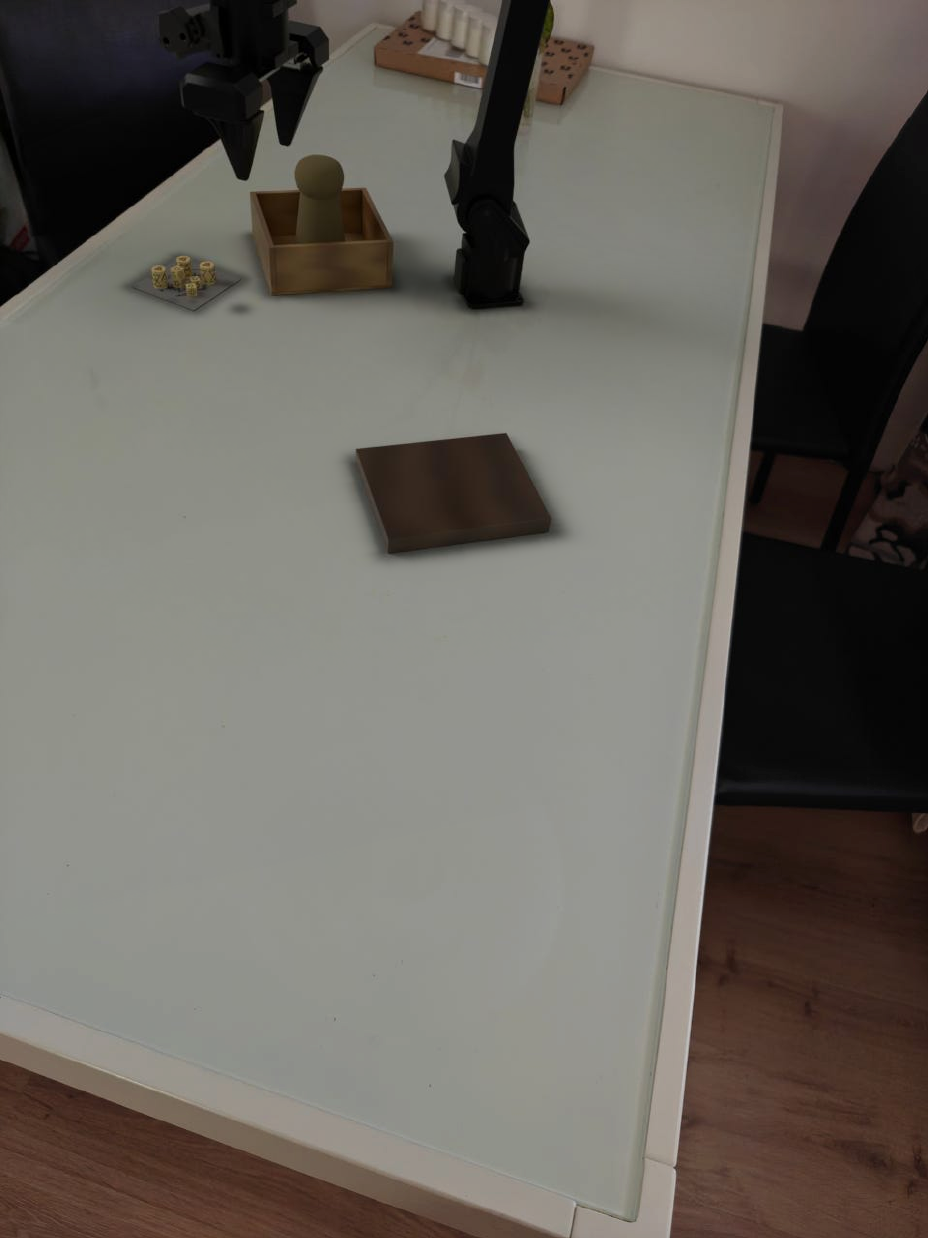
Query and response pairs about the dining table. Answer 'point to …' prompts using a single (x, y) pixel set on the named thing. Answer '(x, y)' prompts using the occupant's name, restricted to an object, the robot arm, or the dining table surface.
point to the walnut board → (450, 492)
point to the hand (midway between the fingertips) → (264, 161)
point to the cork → (319, 200)
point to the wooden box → (321, 246)
